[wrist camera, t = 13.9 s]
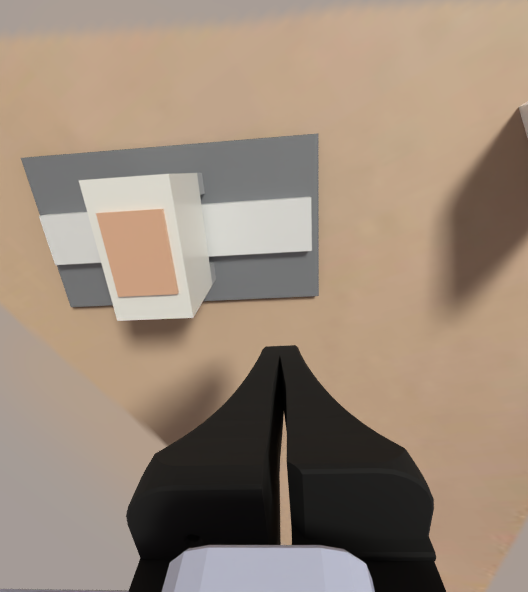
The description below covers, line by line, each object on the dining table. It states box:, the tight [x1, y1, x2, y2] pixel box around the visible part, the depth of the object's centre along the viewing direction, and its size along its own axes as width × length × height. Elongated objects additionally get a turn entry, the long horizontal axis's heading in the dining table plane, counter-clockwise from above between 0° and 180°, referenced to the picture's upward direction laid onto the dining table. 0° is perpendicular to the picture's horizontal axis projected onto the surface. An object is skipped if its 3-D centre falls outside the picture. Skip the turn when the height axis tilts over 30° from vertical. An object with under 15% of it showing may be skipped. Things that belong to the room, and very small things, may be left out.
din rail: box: [21, 134, 319, 307], centre depth 20 cm, size 10×18×1 cm, turn 94°
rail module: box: [79, 173, 216, 321], centre depth 17 cm, size 7×4×6 cm, turn 4°
